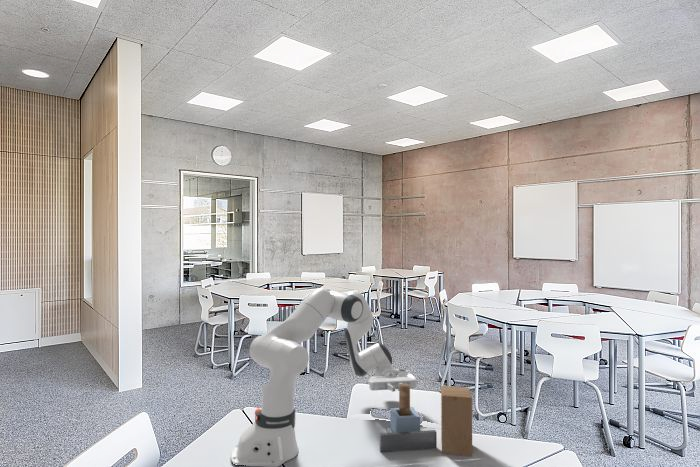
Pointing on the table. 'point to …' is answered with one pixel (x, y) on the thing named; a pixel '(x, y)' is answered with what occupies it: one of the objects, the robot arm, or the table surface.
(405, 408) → the dowel
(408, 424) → the blue hollow square block
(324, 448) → the table surface
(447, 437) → the wooden block
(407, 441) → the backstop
